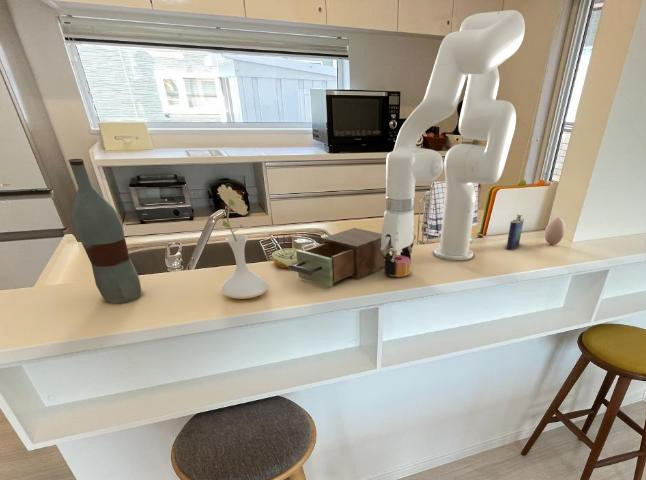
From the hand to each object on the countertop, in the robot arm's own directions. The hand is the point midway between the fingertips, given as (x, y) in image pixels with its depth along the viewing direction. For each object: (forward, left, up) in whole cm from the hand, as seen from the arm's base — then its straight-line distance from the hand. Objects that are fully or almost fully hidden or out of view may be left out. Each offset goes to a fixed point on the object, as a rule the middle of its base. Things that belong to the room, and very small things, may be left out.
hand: (397, 269), depth 120 cm
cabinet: (+3, -13, -1) cm, 13 cm away
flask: (-49, +16, -1) cm, 51 cm away
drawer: (+17, -13, 0) cm, 22 cm away
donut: (0, 0, -1) cm, 1 cm away
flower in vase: (+36, -23, -1) cm, 43 cm away
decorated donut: (+13, -30, -1) cm, 33 cm away
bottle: (+56, -44, -1) cm, 71 cm away
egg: (-61, +26, -1) cm, 66 cm away
